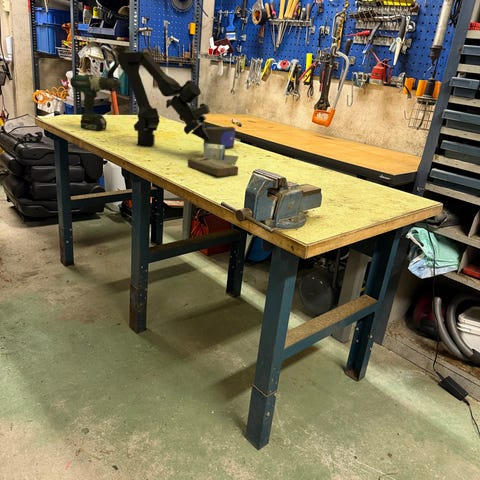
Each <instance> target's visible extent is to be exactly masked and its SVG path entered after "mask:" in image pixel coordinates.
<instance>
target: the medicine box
mask: <svg viewBox="0 0 480 480" xmlns="http://www.w3.org/2000/svg"><path fill="white" fill-rule="evenodd" d="M202 153H203V156H202V158H213V159H224V156H225V155H226V149H225V146H224V145H217V144H206V143H205V144H204V143H203V152H202Z"/></svg>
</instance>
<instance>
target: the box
mask: <svg viewBox="0 0 480 480" xmlns="http://www.w3.org/2000/svg"><path fill="white" fill-rule="evenodd" d="M187 167H189V168H192V169H196V170H198V171H201V172H204V173H207V174H210V175H213V176H216V177H229V176H235V175H239V166H237V165H234V164H228V163H224V162H221V161H218V160H215V159H212V158H204V157H199V158H196V157H195V158H188V159H187Z"/></svg>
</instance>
